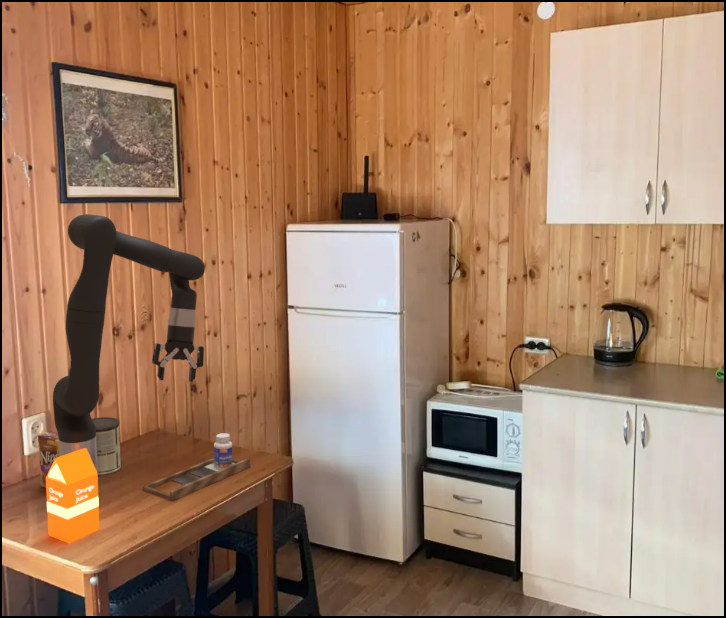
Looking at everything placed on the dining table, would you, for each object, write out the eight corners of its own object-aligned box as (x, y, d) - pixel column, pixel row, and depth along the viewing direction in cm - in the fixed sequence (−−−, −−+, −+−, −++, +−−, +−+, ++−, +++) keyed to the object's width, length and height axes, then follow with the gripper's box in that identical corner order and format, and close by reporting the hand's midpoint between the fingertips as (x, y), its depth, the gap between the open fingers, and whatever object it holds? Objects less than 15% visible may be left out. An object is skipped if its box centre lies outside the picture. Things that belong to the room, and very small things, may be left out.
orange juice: (48, 535, 175) (43, 455, 171) (79, 521, 182) (76, 444, 179) (69, 543, 171) (65, 462, 167) (100, 529, 178) (97, 450, 175)
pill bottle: (220, 471, 215) (219, 439, 213) (210, 465, 219) (210, 434, 217) (236, 467, 218) (235, 435, 217) (226, 461, 222) (226, 431, 221)
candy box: (39, 487, 202) (36, 434, 199) (53, 482, 205) (50, 429, 203) (61, 494, 197) (58, 440, 195) (74, 489, 201) (72, 435, 198)
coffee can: (78, 467, 216) (76, 421, 214) (112, 459, 223) (110, 414, 221) (92, 478, 209) (90, 430, 206) (127, 469, 215) (125, 423, 213)
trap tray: (172, 501, 195) (172, 492, 194) (142, 490, 201) (142, 481, 201) (249, 466, 219) (249, 459, 219) (221, 458, 226) (220, 450, 225)
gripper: (159, 323, 204) (154, 381, 204) (209, 327, 211) (204, 383, 211) (153, 322, 211) (148, 378, 211) (202, 325, 218) (196, 380, 218)
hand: (176, 380), depth 211 cm, fingers open, 8 cm apart
